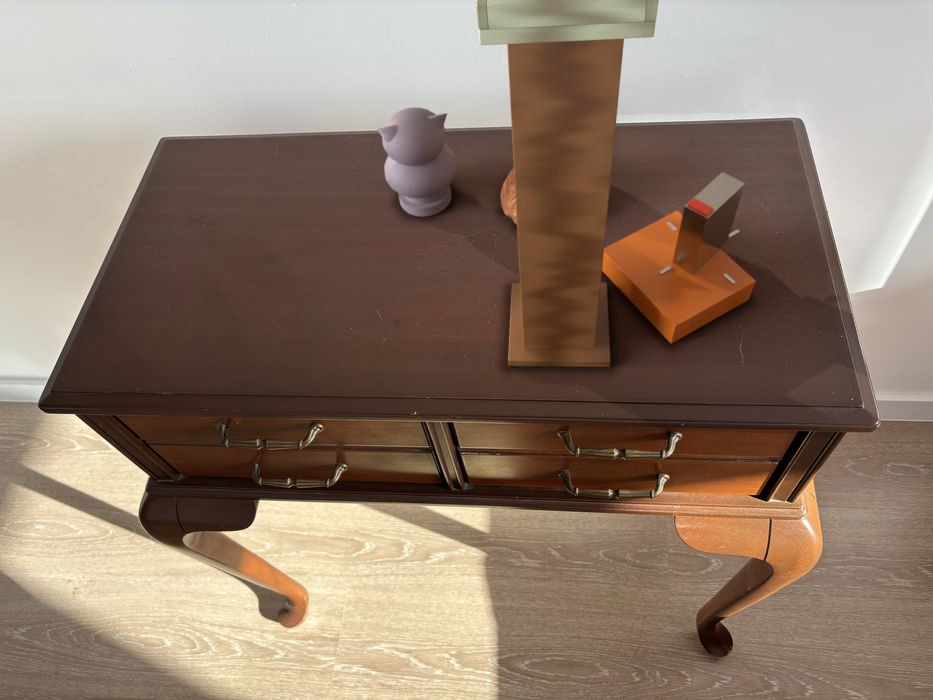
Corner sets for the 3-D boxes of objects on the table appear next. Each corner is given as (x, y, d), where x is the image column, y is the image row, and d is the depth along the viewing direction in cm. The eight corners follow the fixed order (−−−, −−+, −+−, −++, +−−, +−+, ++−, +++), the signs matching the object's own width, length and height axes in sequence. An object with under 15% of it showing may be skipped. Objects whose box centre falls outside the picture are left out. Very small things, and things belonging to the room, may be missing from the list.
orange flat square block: (772, 286, 72) (780, 266, 69) (670, 343, 69) (675, 325, 67) (695, 218, 78) (700, 197, 76) (599, 268, 76) (601, 248, 73)
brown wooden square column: (606, 288, 74) (646, -93, 43) (609, 367, 68) (659, -5, 38) (512, 288, 75) (486, -82, 44) (508, 366, 70) (475, 4, 39)
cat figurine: (451, 167, 87) (439, 84, 77) (468, 209, 83) (457, 126, 73) (385, 185, 86) (364, 103, 77) (399, 228, 82) (379, 147, 72)
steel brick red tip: (706, 229, 73) (722, 169, 66) (727, 241, 72) (745, 181, 65) (671, 262, 71) (684, 203, 64) (692, 274, 70) (707, 216, 63)
